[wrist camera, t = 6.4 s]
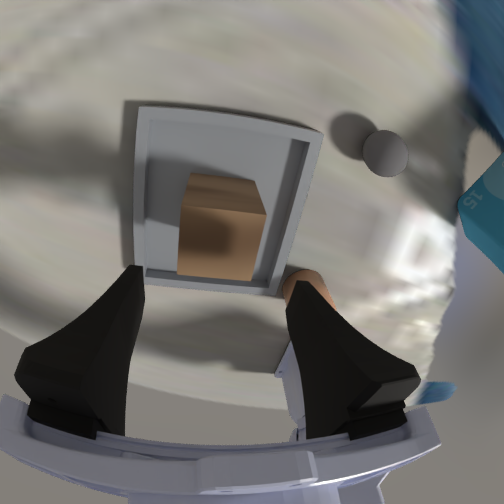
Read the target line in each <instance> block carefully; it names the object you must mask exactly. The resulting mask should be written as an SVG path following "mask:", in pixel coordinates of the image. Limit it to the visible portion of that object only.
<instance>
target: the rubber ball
mask: <svg viewBox="0 0 504 504" xmlns="http://www.w3.org/2000/svg"><path fill="white" fill-rule="evenodd" d="M363 158H364V161H365V163H366V165H367V166H368V168H369V169H370V170H371V171H372V172H373V173H375V174H377V175H379V176H382V177H393V176H396V175H398V174H399V173H401V172H402V171H403V170H404V168H405V167H406V165H407V162H408V149H407V146H406V144H405V142H404V141H403V140H402V138H401V137H400V136H398V135H397V134H395V133H394V132H391V131H387V130H380V131H376V132H374V133H372V134H371V135H370V136H368V138H367V139H366V140H365V142H364V145H363Z"/></svg>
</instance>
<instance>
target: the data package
mask: <svg viewBox="0 0 504 504" xmlns="http://www.w3.org/2000/svg"><path fill="white" fill-rule="evenodd" d="M457 207H458V211H459V214H460V218H461V221H462V225H463V229H464V232H465V235H466V237H467V238H468V239H469V240H470V241H471V242H472V243H473V244H474V245H475V246H476V247H477V248H479V249H480V250H481V251H482V252H483V253H484V254H485V255H486V256H487V257H488V258H489V259H490V260H491V261H492V262H493V263H494V264H495V265H496V266H497V267H498V268H499V269H500V271H501V272H502V273H503V274H504V152H503V153H502V154H501V155H500V156H499V157H498V158H497V159H496V161H495V162H494V163H493V164H492V165H491V166H490V167H489V168H488V169H487V170H486V172H484V174H483V175H482V176H481V177H480V178H479V179H478V180H477V181H476V182H475V183H474V184H473V185H472V186H471V187H470V188H469V189H468V190H467V191H466V192H465V193H464V194H463V195H462V196H461V197H460V199H459V200H458V204H457Z"/></svg>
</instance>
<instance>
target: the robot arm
mask: <svg viewBox="0 0 504 504" xmlns="http://www.w3.org/2000/svg"><path fill="white" fill-rule="evenodd" d="M144 303H145V291H144V275H143V266H138V265H129V266H128V267H127V269H126V270H125V271H124V272H123V273H122V274H121V275H120V277H119V278H118V279H117V280H116V281H115V282H114V283H113V284H112V285H111V287H110V288H109V289H108V290H107V291H106V292H105V293H104V294H103V295H102V296H101V297H100V298H99V299H98V300H97V301H96V302H95V303H94V304H93V305H92V306H91V307H89V308H88V309H87V310H86V311H85V312H84V313H82V314H81V315H80V316H79V317H78V318H76V319H75V320H74V321H72V322H71V323H69V324H68V325H66V326H65V327H64V328H62V329H61V330H59V331H57V332H56V333H54V334H52V335H51V336H49V337H47V338H45V339H43V340H41V341H39V342H37V343H35V344H33V345H31V346H29V347H26V348H25V350H24V352H23V354H22V356H21V359H20V361H19V363H18V366H17V369H16V372H15V374H14V376H15V379H16V381H17V383H18V384H19V385H20V387H21V388H22V389H23V390H24V392H25V393H26V394H27V395H28V396H29V398H30V399H31V401H30V405H28V404H26V403H25V402H23V401H21V400H18V399H16V398H13V397H11V396H9V395H7V394H3V396H2V399H1V402H0V450H2V451H4V452H5V453H7V454H8V455H10V456H12V457H13V458H15V459H16V460H18V461H20V462H22V463H24V464H26V465H29V466H31V467H33V468H35V469H38V470H40V471H42V472H45V473H47V474H50V475H52V476H55V477H58V478H60V479H63V480H66V481H68V482H72V483H74V484H77V485H80V486H84V487H87V488H90V489H94V490H97V491H101V492H105V493H109V494H113V495H117V496H122V497H127V498H128V504H385V502H384V499H383V495H382V492H381V489H380V486H379V485H380V483H381V482H382V481H383V480H384V478H385V477H386V476H387V475H388V473H389V472H390V471H392V470H394V469H397V468H399V467H402V466H404V465H406V464H409V463H411V462H413V461H415V460H416V459H418V458H420V457H422V456H423V455H425V454H427V453H429V452H431V451H432V450H434V449H436V448H437V447H439V446H440V445H441V441H440V439H439V436H438V434H437V432H436V429H435V427H434V424H433V422H432V420H431V417H430V415H429V413H428V411H427V408H426V406H422V407H419V408H416V409H413V410H411V411H408V412H406V413H404V411H403V408H405V406H406V405H405V403H404V400H405V399H406V398H407V397H408V396H409V395H410V394H411V393H412V392H413V391H414V390H415V389H416V388H417V387H418V386H419V384H420V382H421V378H420V376H419V374H418V372H417V370H416V368H415V366H414V365H412V364H410V363H408V362H406V361H404V360H402V359H399V358H397V357H396V356H394V355H392V354H390V353H388V352H387V351H385V350H383V349H382V348H380V347H379V346H377V345H376V344H374V343H373V342H371V341H370V340H369V339H367V338H366V337H365V336H363V335H362V334H361V333H360V332H358V331H357V330H356V329H355V328H354V327H352V326H351V325H350V324H349V323H348V322H347V321H346V320H345V319H344V318H343V317H342V316H341V315H340V314H339V313H338V312H337V311H336V310H335V309H334V308H333V307H332V306H331V305H330V304H329V303H328V302H327V301H326V299H325V298H324V297H323V296H322V295H321V294H320V293H319V292H318V291H317V290H316V288H315V287H314V286H313V285H312V284H311V283H310V282H309V281H302V280H297V281H296V283H295V286H294V289H293V292H292V294H291V297H290V300H289V302H288V305H287V308H286V310H285V311H286V319H287V326H288V331H289V335H290V338H291V341H290V343H289V345H288V347H287V349H286V351H285V353H284V355H283V357H282V359H281V362H280V364H279V366H278V368H277V370H276V372H275V374H274V376H275V377H276V378H282V381H283V386H284V391H285V395H286V400H287V405H288V410H289V414H290V416H291V418H292V419H293V420H294V422H295V423H296V424H297V425H298V428H295V429H294V430H293V432H292V434H291V436H290V439H289V442H282V443H271V444H255V445H194V444H180V443H169V442H159V441H151V440H144V439H137V438H131V437H125V408H126V393H127V383H128V374H129V366H130V361H131V356H132V352H133V349H134V345H135V341H136V337H137V334H138V330H139V327H140V323H141V320H142V315H143V309H144Z"/></svg>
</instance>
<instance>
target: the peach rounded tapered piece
mask: <svg viewBox="0 0 504 504" xmlns="http://www.w3.org/2000/svg"><path fill="white" fill-rule="evenodd" d="M297 280H302V281H309V282H310V283H311V284H312V285H313V286H314V287H315V288H316V290H317V291H318V292H319V293H320V294H321V295H322V296H323V297H324V298H325V299H326V301H327V302H328V303H329V304H330V305H331V306H332V307H333V308H334V309H335V310H336V307H335V304H334V302H333V300H332V298H331V296H330V294H329V291H328V289H327V287H326V285H325V283H324V281H323V279H322V277H321V275H320V274H319V273H318V272H316V271H313V270H301V271H298V272H295V273H293V274H292V275H290V276H289V277H288V278H287V279H286V280H285V282H284V284H283V287H282V292H283V295H284V299H285V302H286V306H287V305H288V302H289V300H290V297H291V294H292V292H293V289H294V286H295V283H296V281H297Z"/></svg>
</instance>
